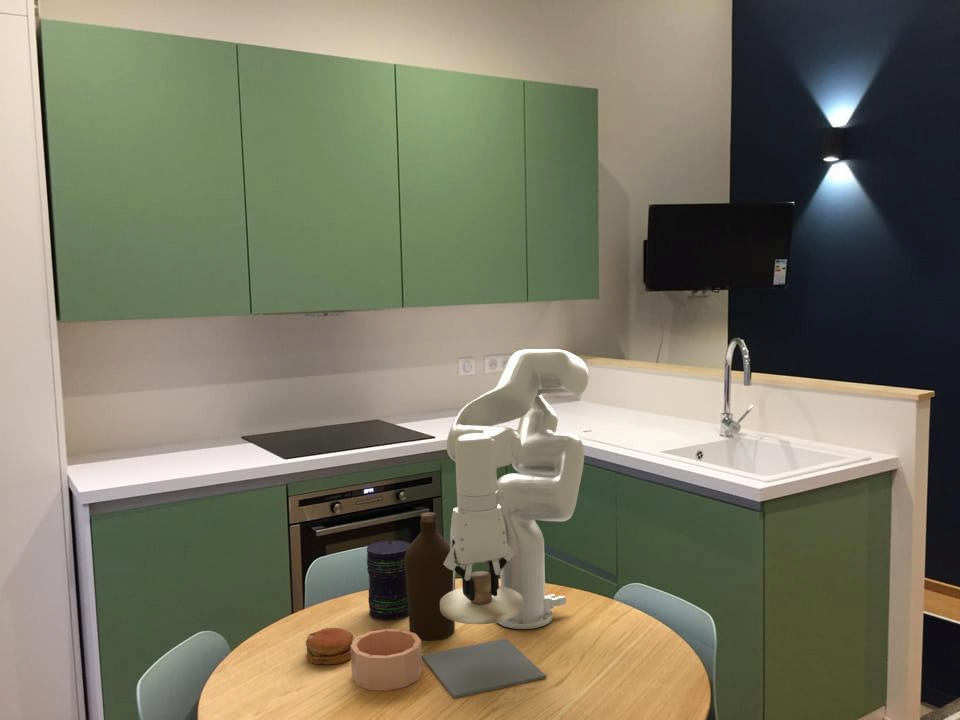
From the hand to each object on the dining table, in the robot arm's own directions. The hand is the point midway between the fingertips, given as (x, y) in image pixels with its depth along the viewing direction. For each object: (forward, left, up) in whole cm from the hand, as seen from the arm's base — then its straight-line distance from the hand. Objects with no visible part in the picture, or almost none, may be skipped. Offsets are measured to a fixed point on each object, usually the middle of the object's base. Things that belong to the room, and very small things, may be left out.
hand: (481, 595), depth 157 cm
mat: (0, 0, -14) cm, 14 cm away
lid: (0, 0, -2) cm, 2 cm away
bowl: (+17, -5, -14) cm, 23 cm away
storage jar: (+8, -34, -14) cm, 37 cm away
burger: (+26, -17, -14) cm, 34 cm away
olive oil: (+3, -20, -14) cm, 24 cm away
